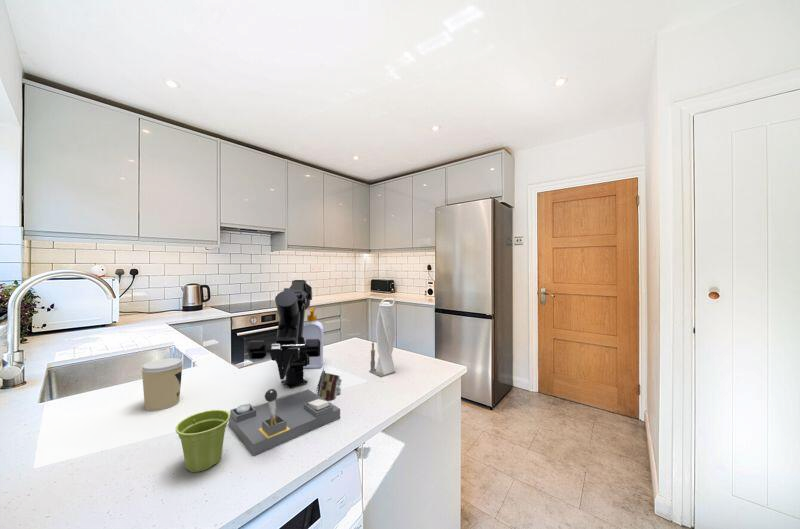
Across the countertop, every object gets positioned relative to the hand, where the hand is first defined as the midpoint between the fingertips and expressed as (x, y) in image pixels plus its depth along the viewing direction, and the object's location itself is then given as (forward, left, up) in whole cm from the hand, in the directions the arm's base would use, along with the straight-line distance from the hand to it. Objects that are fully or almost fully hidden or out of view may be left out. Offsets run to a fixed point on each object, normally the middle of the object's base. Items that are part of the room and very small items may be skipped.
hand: (281, 378), depth 77 cm
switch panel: (+1, +1, -11) cm, 11 cm away
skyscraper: (-7, +43, -11) cm, 45 cm away
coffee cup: (-33, -20, -11) cm, 40 cm away
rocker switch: (+6, +7, -7) cm, 12 cm away
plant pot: (+4, -18, -11) cm, 22 cm away
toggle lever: (+7, -5, -8) cm, 11 cm away
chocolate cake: (-5, +18, -12) cm, 22 cm away
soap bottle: (-32, +26, -11) cm, 42 cm away
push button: (-5, -8, -9) cm, 12 cm away
